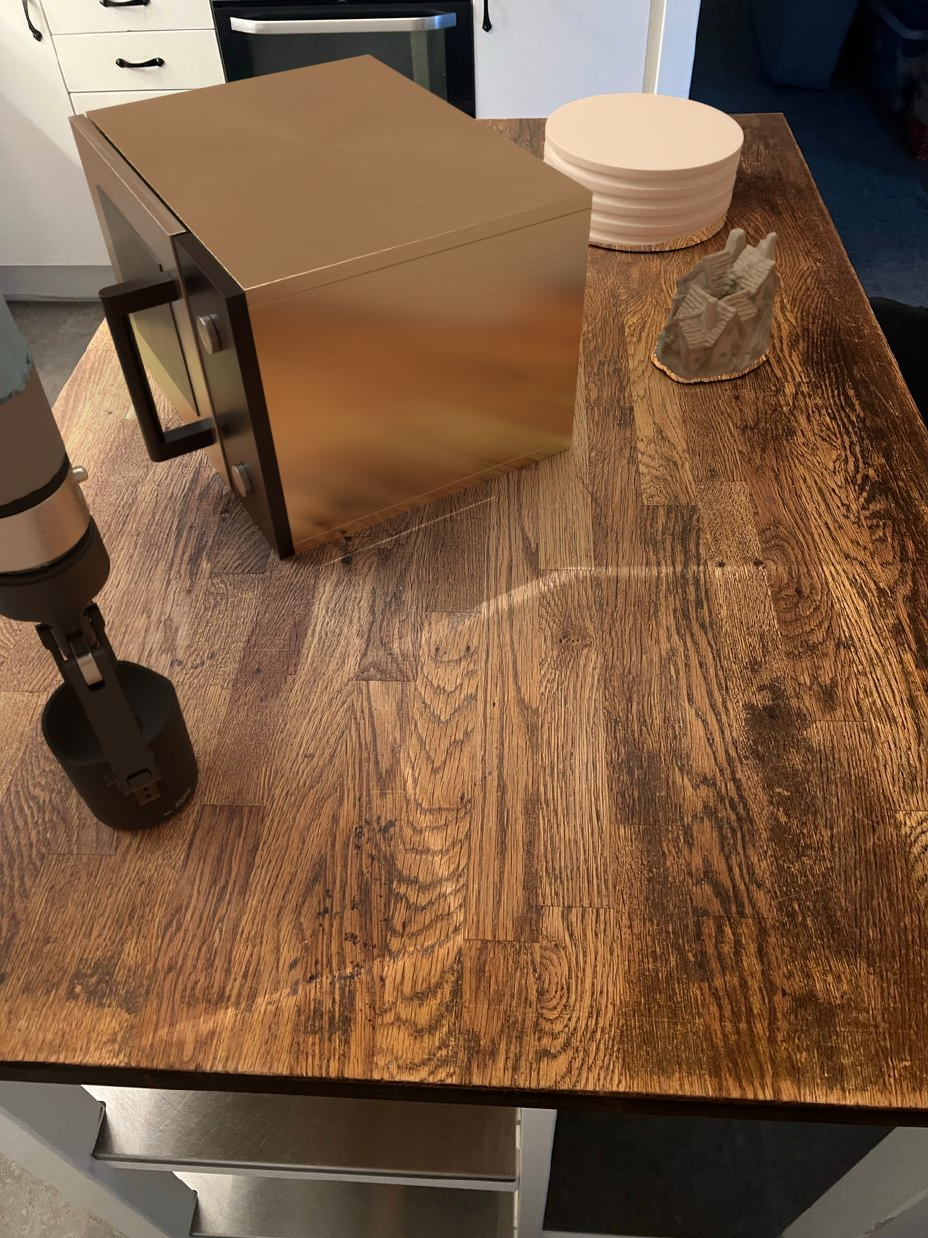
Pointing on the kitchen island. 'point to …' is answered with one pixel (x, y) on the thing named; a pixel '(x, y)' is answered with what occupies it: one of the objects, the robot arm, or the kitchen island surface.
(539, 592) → the kitchen island surface
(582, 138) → the plate stack
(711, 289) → the ceramic cottage
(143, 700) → the pen holder
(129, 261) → the microwave door
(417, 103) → the microwave
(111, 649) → the robot arm
